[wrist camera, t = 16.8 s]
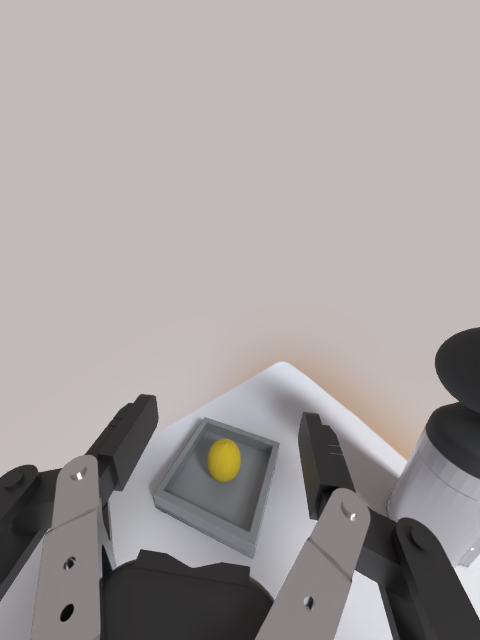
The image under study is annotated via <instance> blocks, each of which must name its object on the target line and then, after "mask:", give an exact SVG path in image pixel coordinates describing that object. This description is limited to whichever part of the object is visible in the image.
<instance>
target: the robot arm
mask: <svg viewBox="0 0 480 640" xmlns="http://www.w3.org/2000/svg"><path fill="white" fill-rule="evenodd" d="M435 368H436V372H437V375H438V377H439V379H440V381H441V383H442V384H443V385H444V387H445V388H446V389H447V390H448V392H449V393H450V394H451V395H452V396H453V397H455V398H456V399H457V400H458V401H459V402H457V403H454V404H450V405H446V406H442V407H440V408H438V409H436V410H435V411H434V412H433V413H432V415H431V416H430V418H429V420H428V422H427V424H426V426H425V428H424V430H423V432H422V434H421V436H420V438H419V440H418V442H417V444H416V446H415V448H414V450H413V452H412V454H411V456H410V458H409V460H408V462H407V464H406V466H405V468H404V470H403V472H402V474H401V476H400V478H399V480H398V482H397V484H396V486H395V488H394V490H393V492H392V493H391V496H390V498H389V500H388V503H387V513H388V517H389V518H387V517H385V516H383V515H381V514H378V513H377V512H375V511H373V510H372V509H370V508H369V507H368V506H367V505H366V504H365V502H364V501H363V500H362V498H361V497H360V496H359V495H357V493H356V491H355V489H354V486H353V483H352V480H351V477H350V474H349V471H348V468H347V465H346V462H345V459H344V457H343V455H342V451H341V448H340V445H339V442H338V439H337V436H336V434H335V433H334V432H333V430H332V429H331V428H330V426H326V425H322V424H321V420H320V417H319V414H316V413H307V412H303V414H302V419H301V424H300V429H299V435H298V444H299V451H300V458H301V464H302V471H303V477H304V483H305V490H306V496H307V503H308V509H309V516H310V519H313V520H318V522H317V524H316V526H315V528H314V530H313V532H312V534H311V536H310V537H309V538H308V539H307V540H306V542H305V544H304V545H303V547H302V549H301V551H300V553H299V555H298V557H297V559H296V561H295V563H294V565H293V567H292V569H291V570H290V572H289V574H288V576H287V578H286V580H285V582H284V584H283V586H282V588H281V590H280V592H279V594H278V596H277V598H276V599H275V600H274V599H273V597H272V596H271V595H270V594H269V592H268V591H267V590H266V589H265V588H264V587H263V586H262V585H261V584H260V583H259V582H257V581H256V580H255V579H253V578H251V577H250V576H249V574H250V567H248V566H242V565H236V564H229V563H223V562H222V563H217V564H212V565H207V566H202V567H197V568H191V567H189V566H187V565H185V564H184V563H182V562H180V561H178V560H177V559H175V558H173V557H172V556H170V555H168V554H167V553H160V552H154V551H148V550H142V549H140V552H139V554H138V557H137V559H136V560H132V561H129V562H126V563H124V564H122V565H120V566H119V567H117V568H116V562H115V556H114V551H113V543H112V531H111V518H110V506H109V497H110V495H111V494H112V492H113V490H116V491H123V489H124V487H125V485H126V483H127V481H128V479H129V478H130V476H131V474H132V472H133V470H134V468H135V466H136V464H137V463H138V461H139V459H140V457H141V455H142V453H143V451H144V449H145V447H146V446H147V444H148V442H149V440H150V438H151V436H152V434H153V432H154V431H155V429H156V426H157V423H158V409H157V401H156V396H153V395H145V394H141V395H139V396H138V398H137V399H136V401H135V402H134V403H128V404H127V405H126V406H124V407H123V408H122V409H120V410H119V412H118V413H117V414H116V416H115V417H114V418H113V420H112V421H111V422H110V423H109V425H108V427H106V428H105V430H104V431H103V432H102V434H101V435H100V436H99V437H98V439H97V440H96V441H95V442H94V444H93V445H92V446H91V448H90V449H89V450H88V451H87V453H86V454H85V455H83V456H79V457H77V458H75V459H73V460H71V461H70V462H68V463H67V464H66V465H65V466H64V467H63V468H60V469H55V470H50V471H45V472H38V470H37V468H36V467H35V466H34V465H23V466H19V467H17V468H14V469H13V470H11V471H9V472H7V473H6V474H4V475H3V476H2V477H1V478H0V601H1V600H2V598H3V596H4V595H5V593H6V592H7V590H8V589H9V587H10V586H11V584H12V583H13V581H14V580H15V578H16V577H17V575H18V574H19V572H20V571H21V569H22V568H23V566H24V565H25V563H26V562H27V560H28V559H29V557H30V556H31V554H32V552H33V551H34V549H35V548H36V546H37V545H38V543H39V542H40V540H41V539H42V537H43V536H44V534H45V533H46V531H47V530H48V529H49V528H51V530H50V531H48V532H47V533H46V535H45V537H44V542H43V548H42V556H41V564H40V571H39V579H38V586H37V594H36V601H35V609H34V616H33V624H32V631H31V639H30V640H334V637H335V634H336V631H337V628H338V625H339V621H340V618H341V615H342V612H343V609H344V606H345V603H346V600H347V597H348V594H349V590H350V587H351V583H352V576H353V573H354V570H356V571H358V572H359V573H361V574H363V575H364V576H366V577H368V578H370V579H371V580H373V581H375V582H377V583H378V586H379V590H380V593H381V597H382V600H383V604H384V608H385V611H386V615H387V619H388V622H389V626H390V630H391V633H392V637H393V640H480V620H479V618H478V616H477V614H476V612H475V610H474V608H473V606H472V604H471V602H470V600H469V598H468V596H467V594H466V592H465V590H464V588H463V586H462V584H461V582H460V580H459V578H458V576H457V574H456V572H455V570H454V568H453V567H454V566H456V565H459V564H460V565H464V566H466V567H468V566H469V565H470V564H471V563H472V562H473V561H474V560H475V559H476V558H477V556H478V555H479V554H480V327H478V328H472V329H468V330H465V331H462V332H460V333H457V334H455V335H453V336H452V337H450V338H449V339H448V340H446V341H445V342H444V343H443V344H442V345H441V347H440V348H439V350H438V352H437V354H436V357H435Z"/></svg>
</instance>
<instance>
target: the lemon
mask: <svg viewBox="0 0 480 640" xmlns="http://www.w3.org/2000/svg"><path fill="white" fill-rule="evenodd" d="M240 464H241V456H240V451H239V448H238V446H237V445H236V443H235V442H233V441H232V440H230V439H227V438H223V439H220V440H217V441H216V442H215V443H214V444H213V445H212V447H211V449H210V451H209V455H208V469H209V471H210V474H211V475H212V477H213V478H214V479H215V480H217V481H219V482H228V481H230V480H232V479H233V478H234V477H235V476H236V475H237V473H238V471H239V469H240Z"/></svg>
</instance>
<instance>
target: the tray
mask: <svg viewBox="0 0 480 640" xmlns="http://www.w3.org/2000/svg"><path fill="white" fill-rule="evenodd" d="M223 438H227V439H230V440H232V441H233V442H235V443H236V445H237V446H238V448H239V451H240V456H241V464H240V469H239V471H238V473H237V475H236V476H235V477H234V478H233V479H232V480H230V481H228V482H219V481H217V480H215V479H214V478H213V477H212V475H211V474H210V471H209V469H208V455H209V451H210V449H211V447H212V445H213V444H214V443H215V442H216V441H217V440H220V439H223ZM279 444H280V443H278V442H275V441H272V440H269V439H266V438H263V437H260V436H258V435H255V434H252V433H249V432H246V431H243V430H240V429H238V428H235V427H232V426H229V425H226V424H223V423H220V422H217V421H215V420H212V419H209V418H206V417H205V418H204V419H203V421H202V422H201V424H200V425H199V427H198V428H197V430H196V431H195V433H194V434H193V436H192V437H191V439H190V440H189V442H188V443H187V445H186V446H185V448H184V449H183V451H182V452H181V454H180V455H179V457H178V458H177V460H176V461H175V462H174V464H173V465H172V467H171V468H170V470H169V471H168V473H167V474H166V476H165V477H164V479H163V480H162V482H161V483H160V485H159V486H158V488H157V489H156V491H155V492H154V494H153V495H154V501H155V507H156V508H157V509H159V510H161V511H163V512H165V513H166V514H168V515H170V516H172V517H174V518H176V519H178V520H180V521H182V522H183V523H185V524H187V525H189V526H191V527H193V528H195V529H197V530H199V531H201V532H202V533H204V534H206V535H208V536H210V537H212V538H214V539H216V540H218V541H220V542H221V543H223V544H225V545H227V546H229V547H231V548H233V549H235V550H237V551H239V552H240V553H242V554H244V555H246V556H248V557H250V558H252V559H253V556H254V552H255V548H256V544H257V540H258V535H259V531H260V527H261V523H262V519H263V514H264V510H265V506H266V502H267V498H268V493H269V489H270V485H271V481H272V477H273V473H274V468H275V464H276V460H277V456H278V450H279Z"/></svg>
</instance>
